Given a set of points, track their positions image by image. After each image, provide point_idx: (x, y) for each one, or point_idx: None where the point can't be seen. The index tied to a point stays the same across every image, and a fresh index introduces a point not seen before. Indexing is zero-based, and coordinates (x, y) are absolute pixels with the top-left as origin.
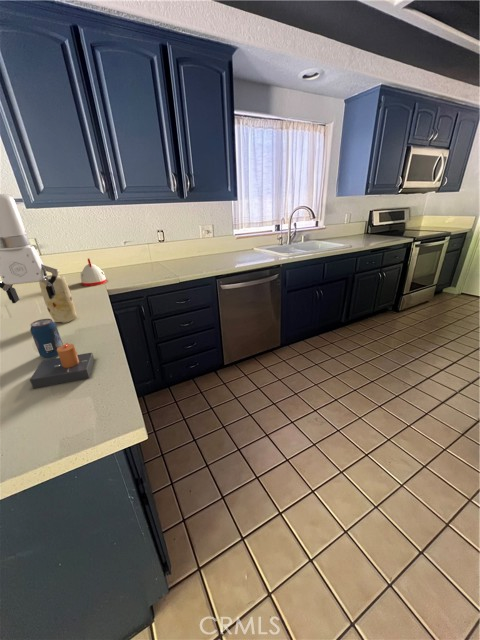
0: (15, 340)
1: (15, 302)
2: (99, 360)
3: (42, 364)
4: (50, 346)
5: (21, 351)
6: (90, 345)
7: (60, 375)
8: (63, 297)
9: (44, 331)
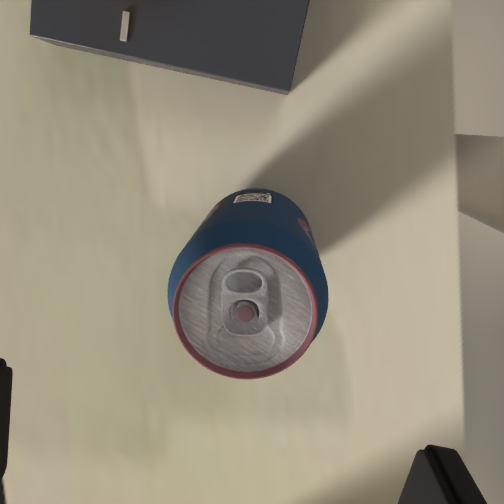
0: None
1: (420, 450)
2: None
3: (282, 37)
4: (242, 198)
5: (396, 356)
6: (86, 236)
7: None
8: None
9: (235, 218)
